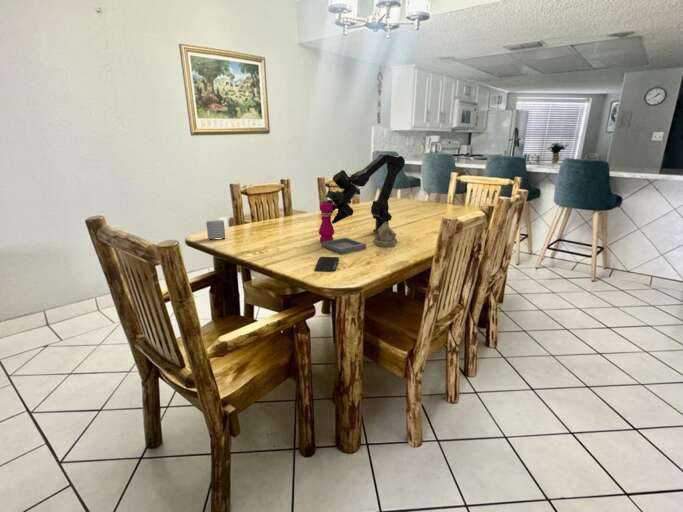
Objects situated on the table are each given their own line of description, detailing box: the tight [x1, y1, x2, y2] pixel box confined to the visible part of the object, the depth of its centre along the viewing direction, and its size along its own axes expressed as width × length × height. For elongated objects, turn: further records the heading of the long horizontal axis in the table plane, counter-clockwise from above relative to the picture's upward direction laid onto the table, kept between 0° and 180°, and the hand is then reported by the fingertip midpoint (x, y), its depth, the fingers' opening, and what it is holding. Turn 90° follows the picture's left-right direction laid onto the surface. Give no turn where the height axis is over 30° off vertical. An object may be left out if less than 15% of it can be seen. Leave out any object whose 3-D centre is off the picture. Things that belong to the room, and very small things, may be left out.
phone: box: [314, 256, 340, 273], centre depth 137 cm, size 8×1×15 cm
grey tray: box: [320, 237, 367, 255], centre depth 158 cm, size 14×14×2 cm
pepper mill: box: [318, 197, 335, 243], centre depth 167 cm, size 7×7×20 cm
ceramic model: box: [373, 221, 398, 248], centre depth 165 cm, size 14×11×10 cm
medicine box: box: [205, 219, 226, 240], centre depth 173 cm, size 8×4×9 cm, turn 108°
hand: (327, 221), depth 167 cm, fingers open, 9 cm apart
